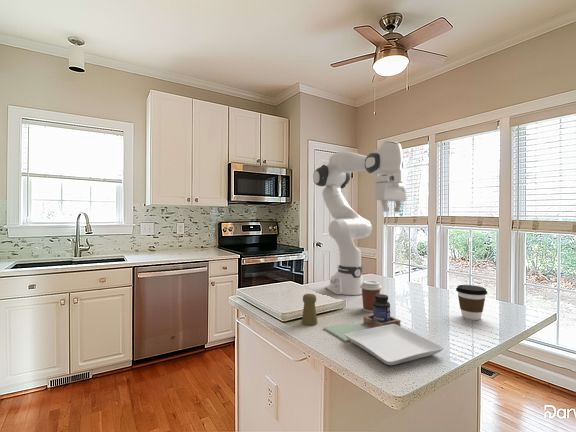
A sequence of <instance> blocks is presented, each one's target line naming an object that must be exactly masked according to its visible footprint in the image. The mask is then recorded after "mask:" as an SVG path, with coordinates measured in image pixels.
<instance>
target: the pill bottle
mask: <svg viewBox="0 0 576 432" xmlns="http://www.w3.org/2000/svg"><path fill="white" fill-rule="evenodd" d="M375 299H376V301H374V303H373V312H372V315H373V320H376V321H378V322H380V323H384V322H388V321H390V316H391V304H390V302H389V301H388V300H389V295H387V294H382V293H380V294H377V295H375Z"/></svg>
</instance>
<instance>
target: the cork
mask: <svg viewBox="0 0 576 432" xmlns="http://www.w3.org/2000/svg"><path fill="white" fill-rule="evenodd" d="M302 302H303V311H302V316H301V318H302V319H301V324H302V325H304V326H307V327H313V326H316V325H318V317H317V316H318V315H317V309H316V308H317V307H316V303H317V295H315V294H314V293H305V294H304V295H303V296H302Z"/></svg>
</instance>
